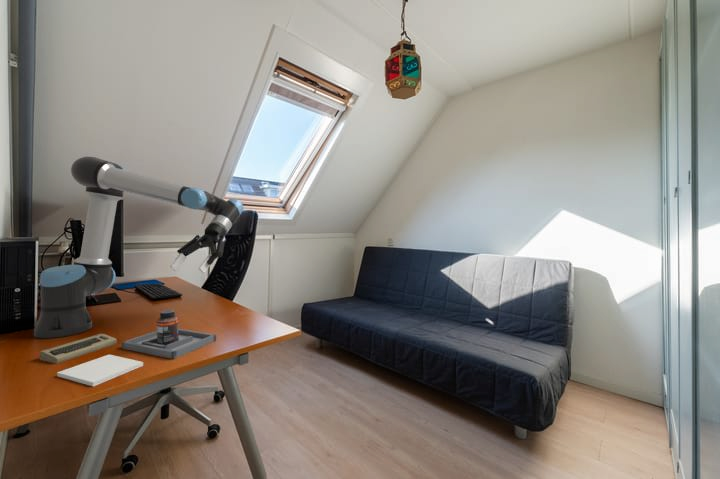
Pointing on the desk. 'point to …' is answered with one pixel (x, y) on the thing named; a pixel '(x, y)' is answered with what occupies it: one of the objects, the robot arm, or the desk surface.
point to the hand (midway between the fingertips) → (186, 269)
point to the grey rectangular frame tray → (174, 350)
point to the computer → (77, 348)
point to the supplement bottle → (167, 328)
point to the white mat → (100, 370)
